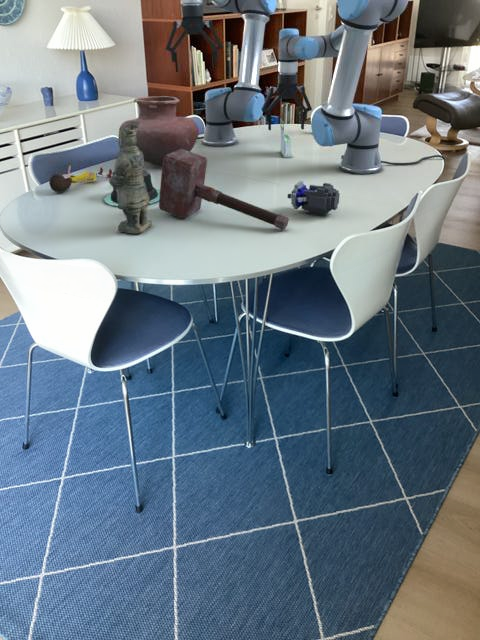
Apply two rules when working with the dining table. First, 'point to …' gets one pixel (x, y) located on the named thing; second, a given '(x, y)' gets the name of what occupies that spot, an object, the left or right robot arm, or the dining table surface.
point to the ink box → (285, 142)
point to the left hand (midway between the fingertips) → (195, 71)
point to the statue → (131, 182)
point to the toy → (315, 198)
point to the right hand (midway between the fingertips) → (286, 129)
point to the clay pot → (162, 128)
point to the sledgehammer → (200, 190)
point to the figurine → (74, 179)
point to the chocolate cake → (152, 192)
